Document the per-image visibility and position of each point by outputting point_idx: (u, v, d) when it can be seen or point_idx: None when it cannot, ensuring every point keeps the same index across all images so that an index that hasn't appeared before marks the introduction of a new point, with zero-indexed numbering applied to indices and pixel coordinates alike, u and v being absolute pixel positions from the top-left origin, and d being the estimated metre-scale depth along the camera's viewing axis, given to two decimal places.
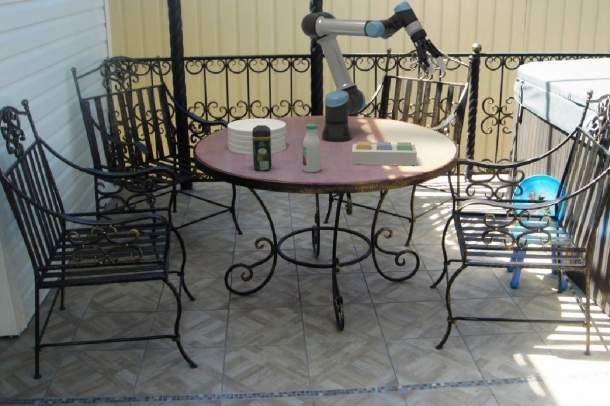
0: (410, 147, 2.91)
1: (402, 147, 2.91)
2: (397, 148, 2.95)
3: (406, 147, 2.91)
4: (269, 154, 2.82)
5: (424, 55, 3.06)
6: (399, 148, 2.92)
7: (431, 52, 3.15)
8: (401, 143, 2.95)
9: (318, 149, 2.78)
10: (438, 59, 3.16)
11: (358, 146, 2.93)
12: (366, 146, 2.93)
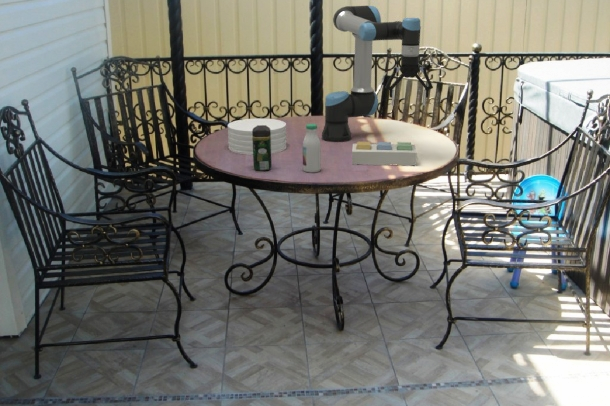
0: (410, 147, 2.91)
1: (402, 147, 2.91)
2: (397, 148, 2.95)
3: (406, 147, 2.91)
4: (269, 154, 2.82)
5: (392, 84, 2.86)
6: (399, 148, 2.92)
7: None
8: (401, 143, 2.95)
9: (318, 149, 2.78)
10: (423, 92, 2.87)
11: (358, 146, 2.93)
12: (366, 146, 2.93)
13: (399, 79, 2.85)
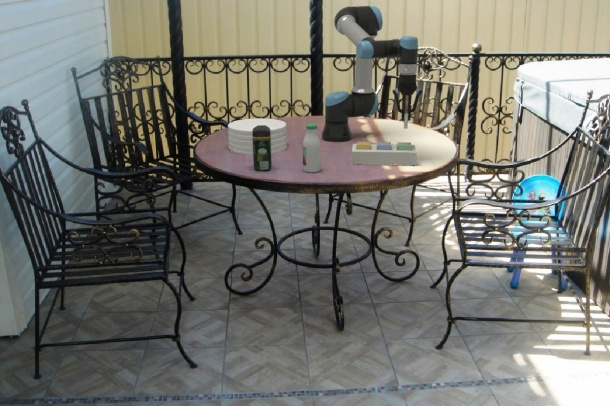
0: (410, 147, 2.91)
1: (402, 147, 2.91)
2: (397, 148, 2.95)
3: (406, 147, 2.91)
4: (269, 154, 2.82)
5: (402, 107, 2.88)
6: (399, 148, 2.92)
7: None
8: (401, 143, 2.95)
9: (318, 149, 2.78)
10: None
11: (358, 146, 2.93)
12: (366, 146, 2.93)
13: (403, 100, 2.86)
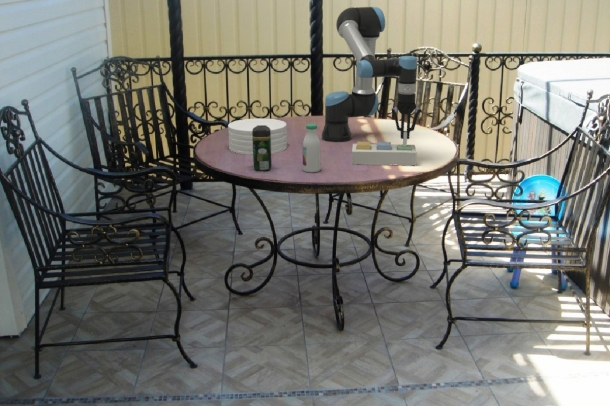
0: (410, 149, 2.91)
1: (402, 149, 2.92)
2: None
3: (406, 149, 2.92)
4: (269, 154, 2.82)
5: (401, 126, 2.90)
6: None
7: (407, 120, 2.91)
8: (401, 145, 2.95)
9: (318, 149, 2.78)
10: None
11: (358, 146, 2.93)
12: (366, 146, 2.93)
13: (402, 118, 2.89)
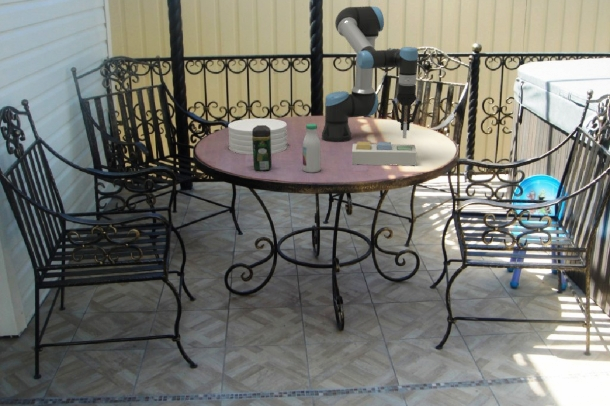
0: None
1: None
2: None
3: None
4: (269, 154, 2.82)
5: (401, 117, 2.90)
6: None
7: (407, 111, 2.90)
8: (401, 147, 2.95)
9: (318, 149, 2.78)
10: None
11: (358, 146, 2.93)
12: (366, 146, 2.93)
13: (403, 110, 2.88)
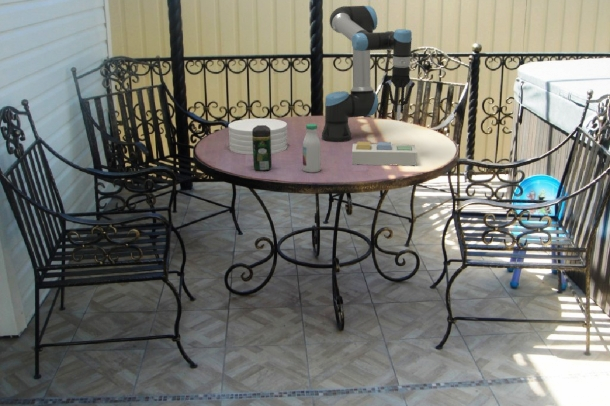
0: None
1: None
2: None
3: None
4: (269, 154, 2.82)
5: (395, 99, 2.93)
6: None
7: None
8: (401, 147, 2.95)
9: (318, 149, 2.78)
10: None
11: (358, 146, 2.93)
12: (366, 146, 2.93)
13: (396, 92, 2.91)
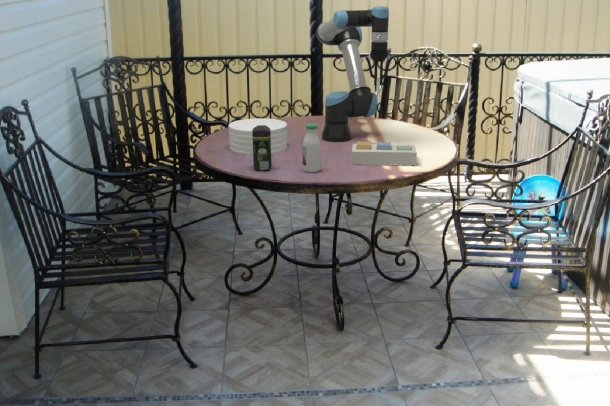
0: None
1: None
2: None
3: None
4: (269, 154, 2.82)
5: (374, 73, 3.10)
6: None
7: (380, 67, 3.10)
8: (401, 147, 2.95)
9: (318, 149, 2.78)
10: None
11: (358, 146, 2.93)
12: (366, 146, 2.93)
13: (375, 66, 3.08)
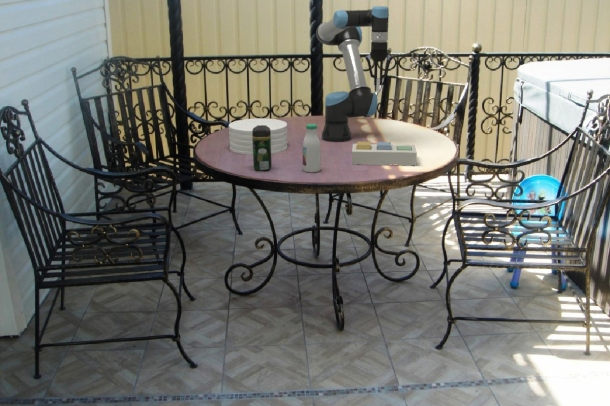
0: None
1: None
2: None
3: None
4: (269, 154, 2.82)
5: (374, 73, 3.10)
6: None
7: (380, 67, 3.10)
8: (401, 147, 2.95)
9: (318, 149, 2.78)
10: None
11: (358, 146, 2.93)
12: (366, 146, 2.93)
13: (375, 65, 3.08)
